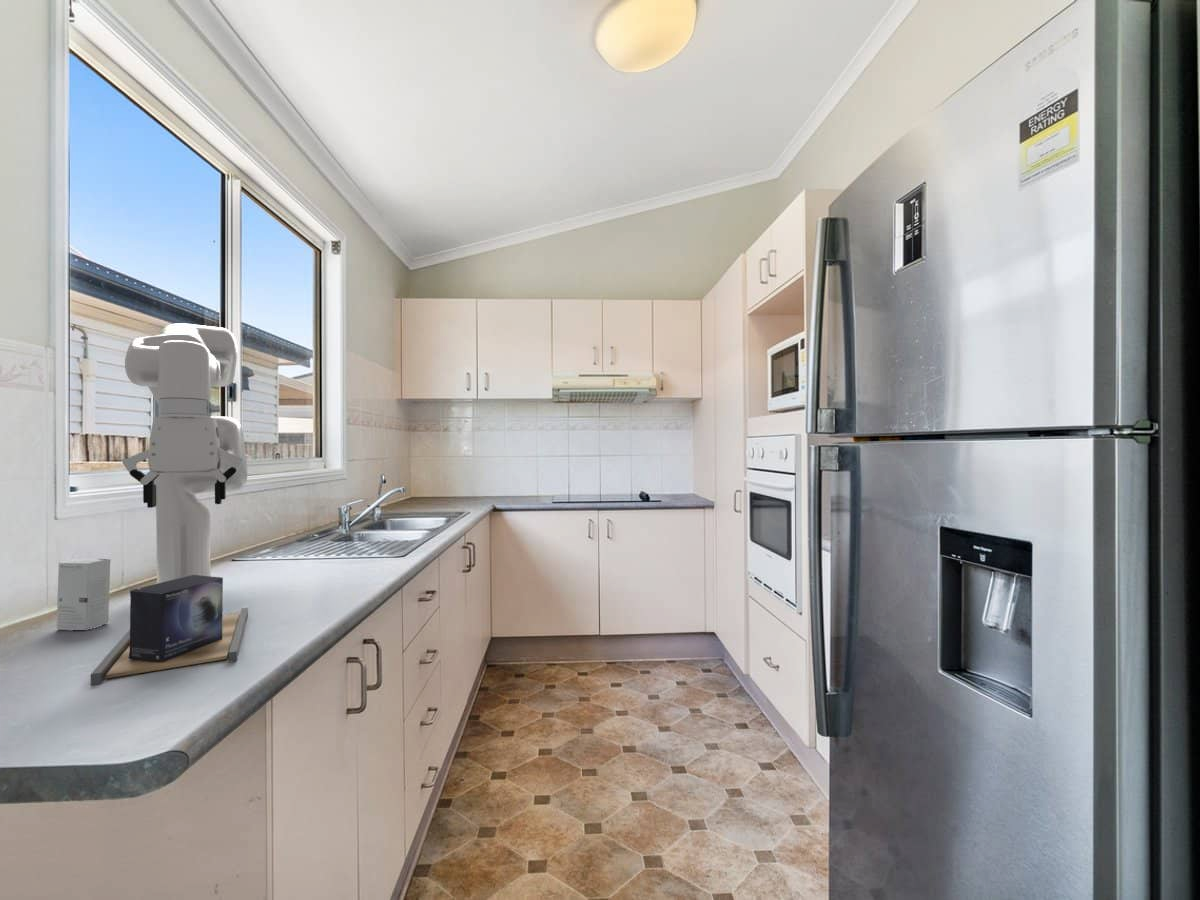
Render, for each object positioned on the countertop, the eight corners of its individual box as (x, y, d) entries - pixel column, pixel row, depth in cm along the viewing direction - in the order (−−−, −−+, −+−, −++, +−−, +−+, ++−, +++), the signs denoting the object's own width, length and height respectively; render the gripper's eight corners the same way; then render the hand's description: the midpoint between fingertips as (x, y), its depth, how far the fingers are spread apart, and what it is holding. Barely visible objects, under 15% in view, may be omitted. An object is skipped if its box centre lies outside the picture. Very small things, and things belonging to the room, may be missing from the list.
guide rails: (136, 629, 97) (136, 621, 97) (247, 615, 105) (247, 607, 105) (90, 685, 74) (90, 674, 74) (236, 661, 82) (236, 651, 82)
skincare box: (55, 630, 96) (54, 562, 96) (80, 622, 101) (80, 557, 101) (87, 631, 96) (86, 563, 96) (112, 623, 100) (111, 557, 100)
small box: (162, 663, 80) (162, 592, 80) (126, 660, 81) (126, 590, 81) (225, 638, 90) (225, 575, 90) (192, 636, 91) (192, 573, 91)
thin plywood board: (145, 627, 97) (145, 591, 97) (239, 615, 104) (239, 581, 104) (105, 678, 76) (105, 632, 76) (227, 658, 83) (226, 616, 83)
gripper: (243, 413, 106) (244, 501, 105) (128, 411, 97) (129, 507, 97) (240, 409, 99) (241, 503, 99) (116, 407, 91) (117, 510, 91)
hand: (185, 505), depth 98 cm, fingers open, 9 cm apart
